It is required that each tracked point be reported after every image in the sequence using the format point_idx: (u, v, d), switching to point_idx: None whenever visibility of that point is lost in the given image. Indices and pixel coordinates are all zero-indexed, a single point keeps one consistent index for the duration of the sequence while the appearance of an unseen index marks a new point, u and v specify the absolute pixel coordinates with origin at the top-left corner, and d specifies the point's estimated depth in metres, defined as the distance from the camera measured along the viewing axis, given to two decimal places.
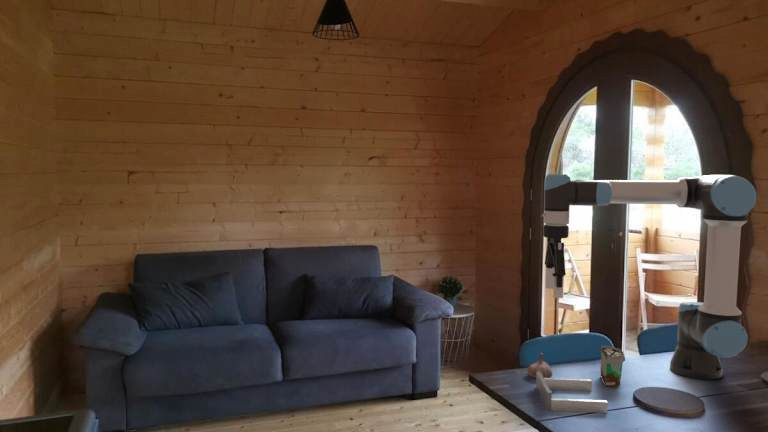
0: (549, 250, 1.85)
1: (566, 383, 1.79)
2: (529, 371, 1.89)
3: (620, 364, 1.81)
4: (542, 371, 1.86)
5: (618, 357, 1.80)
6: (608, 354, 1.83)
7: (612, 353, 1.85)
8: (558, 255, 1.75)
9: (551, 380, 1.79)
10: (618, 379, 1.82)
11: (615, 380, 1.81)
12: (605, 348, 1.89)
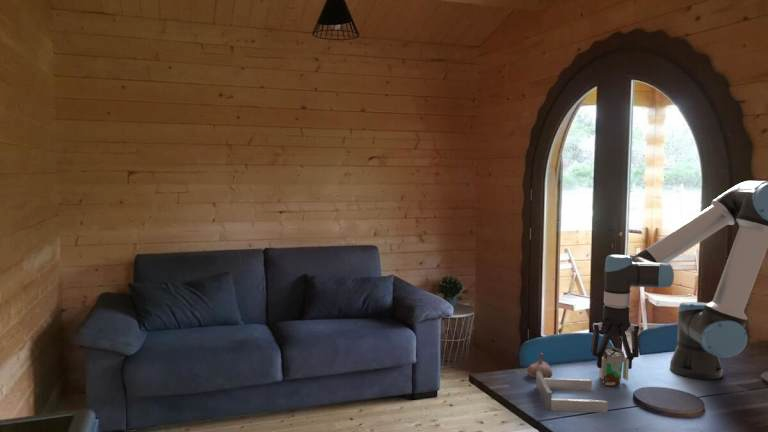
0: None
1: (566, 383, 1.79)
2: (529, 371, 1.89)
3: (620, 364, 1.81)
4: (542, 371, 1.86)
5: (618, 357, 1.80)
6: (608, 354, 1.83)
7: (612, 353, 1.85)
8: (593, 335, 1.85)
9: (551, 380, 1.79)
10: (618, 379, 1.82)
11: (615, 380, 1.81)
12: None
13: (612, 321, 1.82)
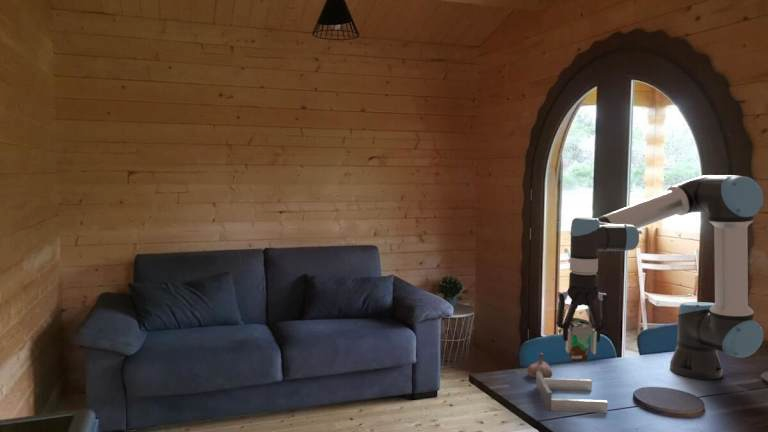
0: None
1: (566, 383, 1.79)
2: (529, 371, 1.89)
3: (587, 336, 1.66)
4: (542, 371, 1.86)
5: (585, 328, 1.65)
6: (575, 325, 1.69)
7: (579, 324, 1.70)
8: (558, 305, 1.70)
9: (551, 380, 1.79)
10: (585, 352, 1.67)
11: (582, 353, 1.66)
12: (572, 320, 1.75)
13: (578, 289, 1.68)
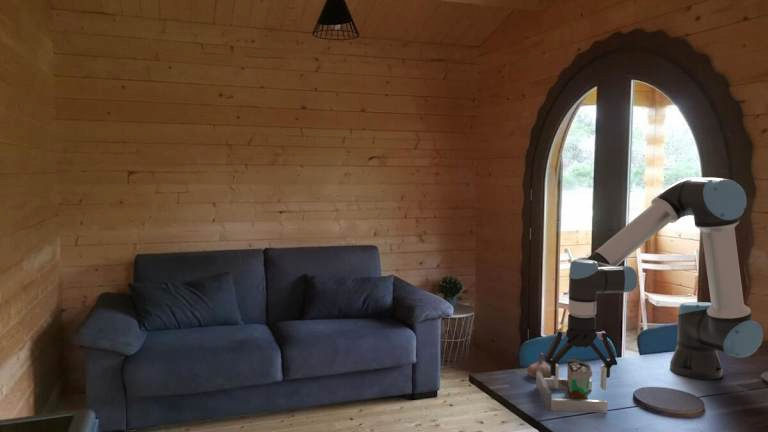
0: None
1: (566, 383, 1.79)
2: (529, 371, 1.89)
3: (587, 380, 1.67)
4: (542, 371, 1.86)
5: (584, 372, 1.66)
6: (574, 369, 1.70)
7: (578, 367, 1.71)
8: (553, 342, 1.71)
9: (551, 380, 1.79)
10: (584, 396, 1.68)
11: (581, 397, 1.67)
12: (572, 362, 1.76)
13: (578, 334, 1.69)
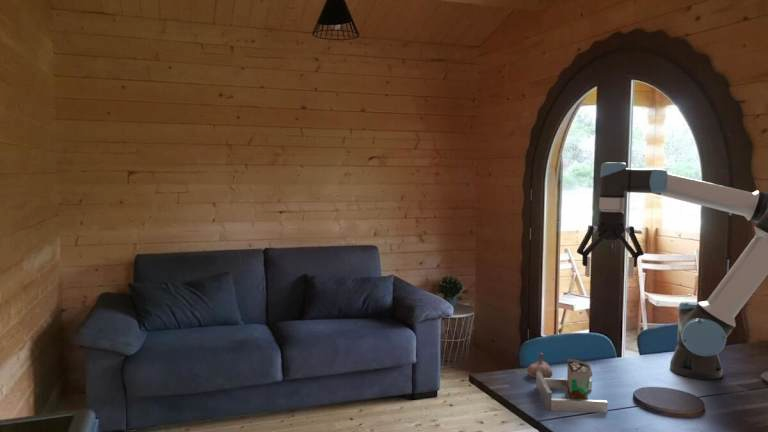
0: None
1: (566, 383, 1.79)
2: (529, 371, 1.89)
3: (587, 380, 1.67)
4: (542, 371, 1.86)
5: (584, 372, 1.66)
6: (574, 369, 1.70)
7: (578, 367, 1.71)
8: (585, 236, 1.91)
9: (551, 380, 1.79)
10: (584, 396, 1.68)
11: (581, 397, 1.67)
12: (572, 362, 1.76)
13: (608, 228, 1.89)
